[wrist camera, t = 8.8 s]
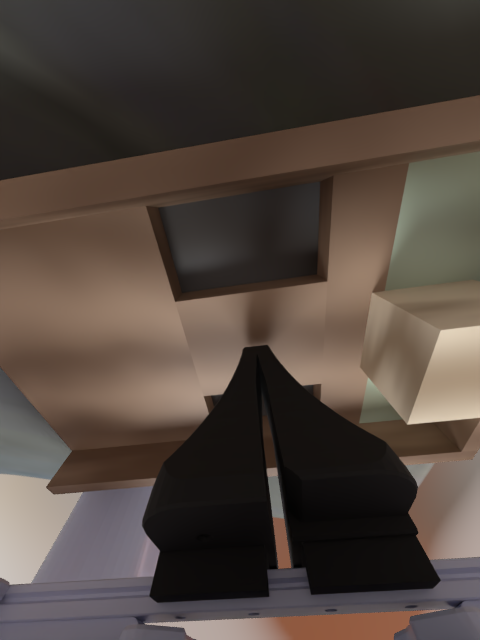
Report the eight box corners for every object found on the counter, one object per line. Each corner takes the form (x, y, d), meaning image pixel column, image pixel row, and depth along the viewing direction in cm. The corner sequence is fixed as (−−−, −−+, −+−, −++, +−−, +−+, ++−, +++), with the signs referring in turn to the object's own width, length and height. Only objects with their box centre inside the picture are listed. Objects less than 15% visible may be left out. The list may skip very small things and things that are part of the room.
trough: (417, 403, 17) (472, 459, 13) (93, 435, 19) (53, 494, 15) (518, 124, 9) (740, 48, 5) (-63, 222, 11) (-245, 223, 7)
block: (442, 357, 12) (524, 413, 9) (359, 367, 13) (407, 424, 9) (472, 279, 10) (598, 311, 7) (372, 292, 11) (440, 330, 7)
